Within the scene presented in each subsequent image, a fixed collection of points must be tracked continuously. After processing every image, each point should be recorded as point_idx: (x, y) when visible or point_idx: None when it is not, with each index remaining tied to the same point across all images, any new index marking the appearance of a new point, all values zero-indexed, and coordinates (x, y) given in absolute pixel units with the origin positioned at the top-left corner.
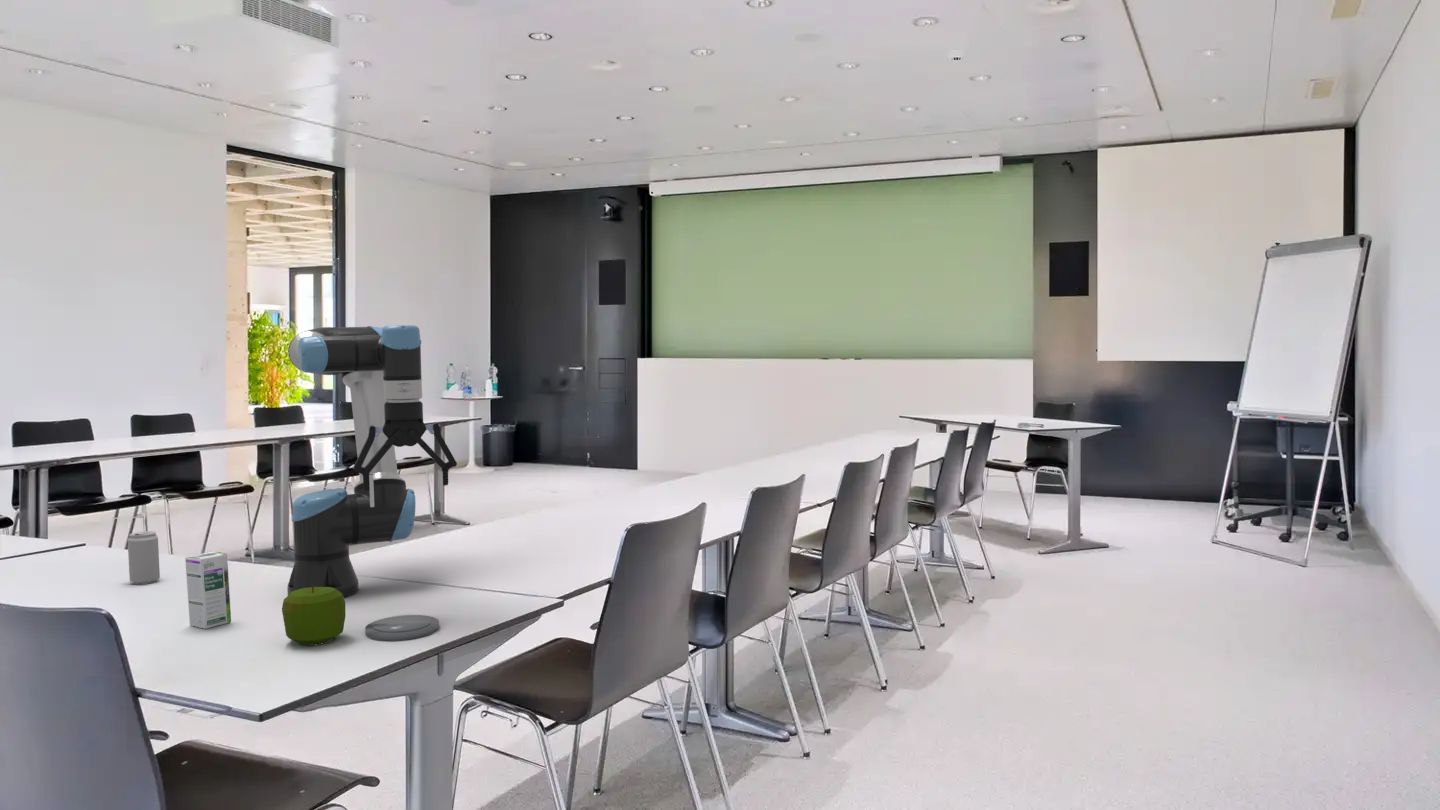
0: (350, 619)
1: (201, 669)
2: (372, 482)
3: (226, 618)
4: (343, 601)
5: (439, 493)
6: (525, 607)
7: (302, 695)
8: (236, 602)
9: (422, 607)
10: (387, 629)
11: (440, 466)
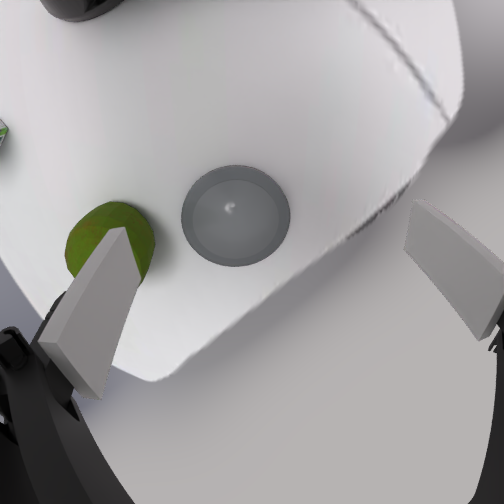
0: (147, 131)
1: (56, 297)
2: (107, 364)
3: (2, 135)
4: (146, 261)
5: (423, 267)
6: (410, 154)
7: (170, 371)
8: (2, 31)
9: (265, 85)
10: (216, 248)
11: (497, 354)
